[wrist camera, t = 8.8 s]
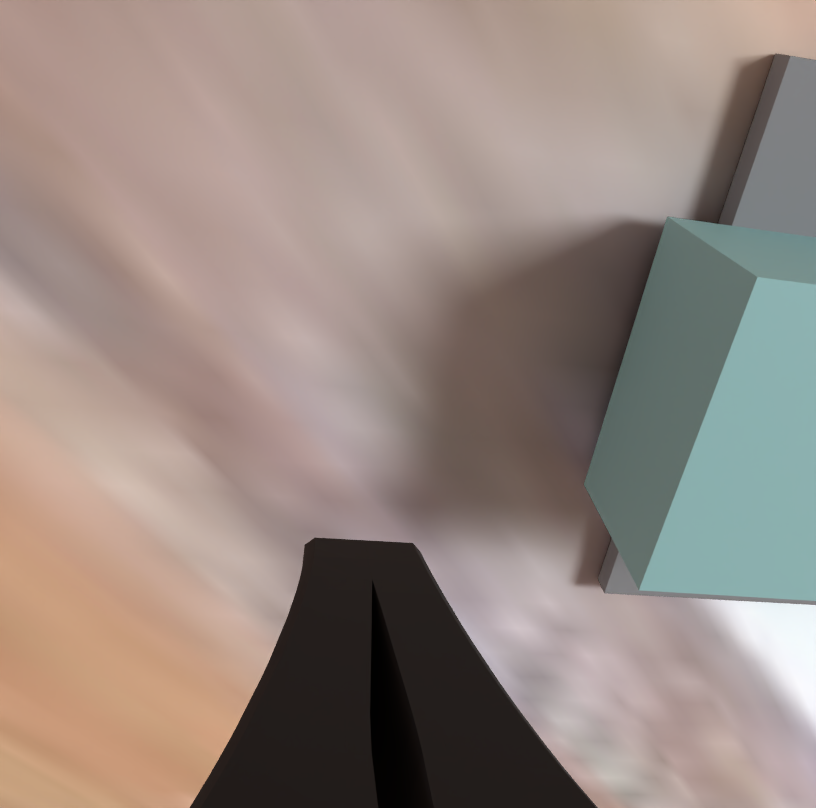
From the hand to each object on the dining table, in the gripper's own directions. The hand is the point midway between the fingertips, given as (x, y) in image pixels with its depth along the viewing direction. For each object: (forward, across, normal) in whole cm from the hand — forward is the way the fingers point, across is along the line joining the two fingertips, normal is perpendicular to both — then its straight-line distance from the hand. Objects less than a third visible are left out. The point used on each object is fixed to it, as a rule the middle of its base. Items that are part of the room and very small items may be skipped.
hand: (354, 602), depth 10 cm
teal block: (+7, -7, 0) cm, 9 cm away
